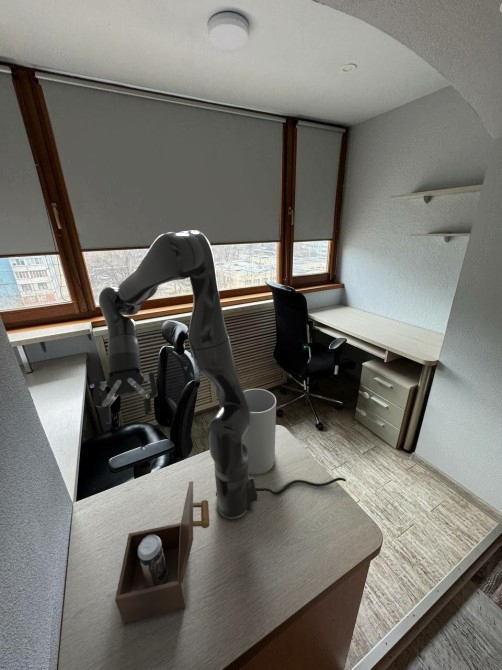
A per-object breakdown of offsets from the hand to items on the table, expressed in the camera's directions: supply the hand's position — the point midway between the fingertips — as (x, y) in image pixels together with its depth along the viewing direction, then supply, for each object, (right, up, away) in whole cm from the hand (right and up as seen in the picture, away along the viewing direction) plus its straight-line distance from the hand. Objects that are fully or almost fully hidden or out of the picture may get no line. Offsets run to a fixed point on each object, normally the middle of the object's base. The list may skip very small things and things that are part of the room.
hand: (128, 419), depth 64 cm
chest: (+8, -36, -2) cm, 37 cm away
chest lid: (+15, -21, -7) cm, 27 cm away
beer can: (+8, -36, -2) cm, 37 cm away
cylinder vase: (+31, -23, +29) cm, 49 cm away
